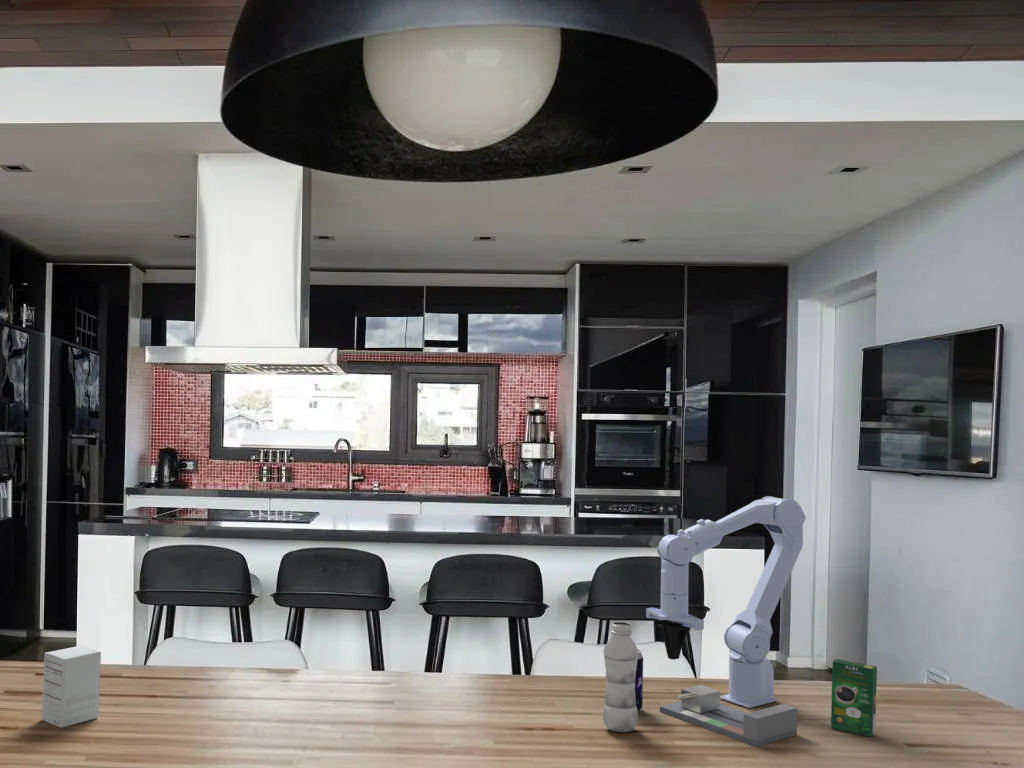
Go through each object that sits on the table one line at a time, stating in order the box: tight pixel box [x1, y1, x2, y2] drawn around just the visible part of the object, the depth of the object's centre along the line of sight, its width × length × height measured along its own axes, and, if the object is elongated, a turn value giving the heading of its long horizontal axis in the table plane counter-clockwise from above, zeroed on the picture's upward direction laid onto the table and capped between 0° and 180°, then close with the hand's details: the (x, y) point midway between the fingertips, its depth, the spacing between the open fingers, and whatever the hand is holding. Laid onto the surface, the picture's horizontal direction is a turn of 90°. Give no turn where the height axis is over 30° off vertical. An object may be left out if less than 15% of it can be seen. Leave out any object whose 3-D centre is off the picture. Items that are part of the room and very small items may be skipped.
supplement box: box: [41, 645, 102, 729], centre depth 166 cm, size 7×7×13 cm
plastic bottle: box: [602, 621, 639, 733], centre depth 168 cm, size 6×7×20 cm
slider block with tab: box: [676, 684, 721, 713], centre depth 177 cm, size 10×5×4 cm, turn 127°
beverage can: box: [635, 648, 644, 713], centre depth 180 cm, size 6×6×12 cm
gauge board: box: [659, 701, 798, 748], centre depth 173 cm, size 12×24×5 cm, turn 37°
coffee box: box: [830, 658, 878, 738], centre depth 170 cm, size 8×3×13 cm, turn 54°
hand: (673, 658), depth 185 cm, fingers closed
